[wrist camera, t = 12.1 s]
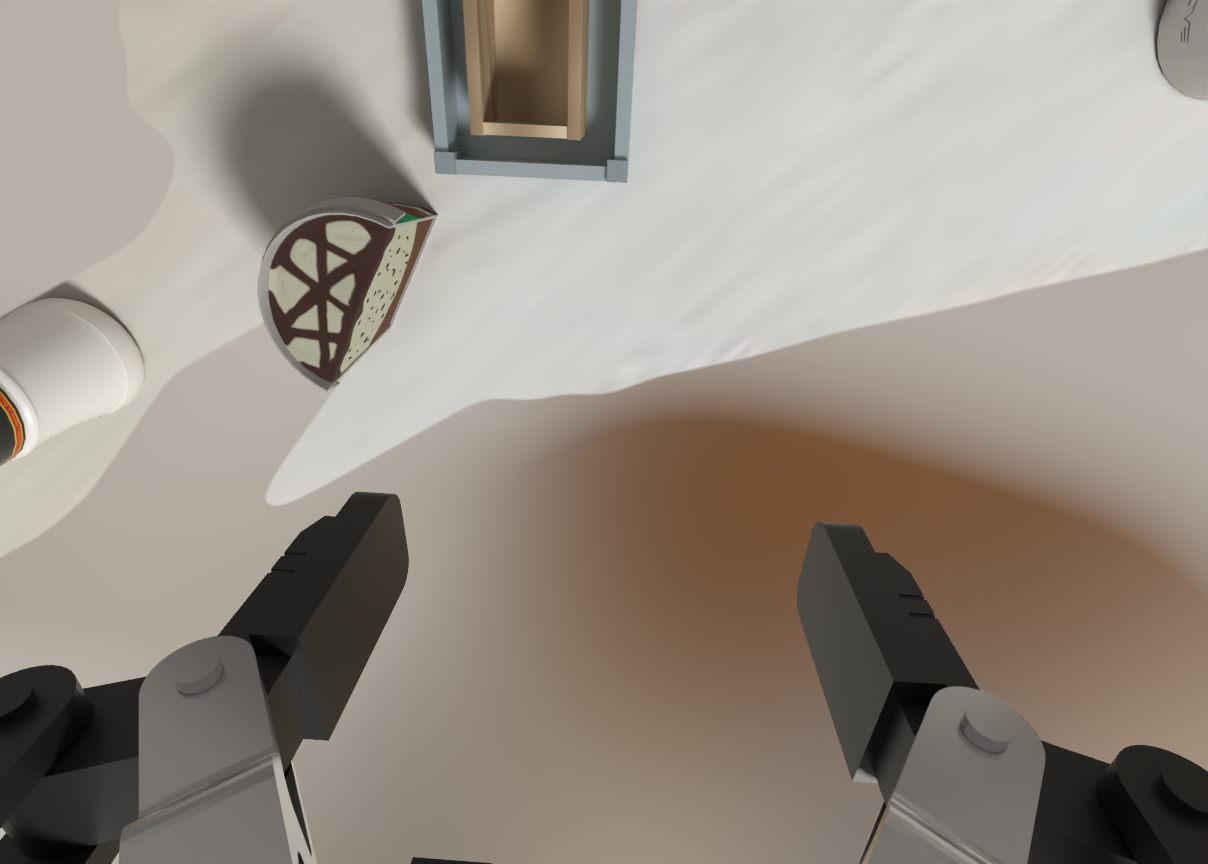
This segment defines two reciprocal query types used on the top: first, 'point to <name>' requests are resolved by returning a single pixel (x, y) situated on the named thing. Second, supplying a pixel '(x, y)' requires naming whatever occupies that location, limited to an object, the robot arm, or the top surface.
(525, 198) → the top surface
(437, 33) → the crate
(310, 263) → the food container
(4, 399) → the vodka
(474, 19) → the small crate
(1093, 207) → the top surface
